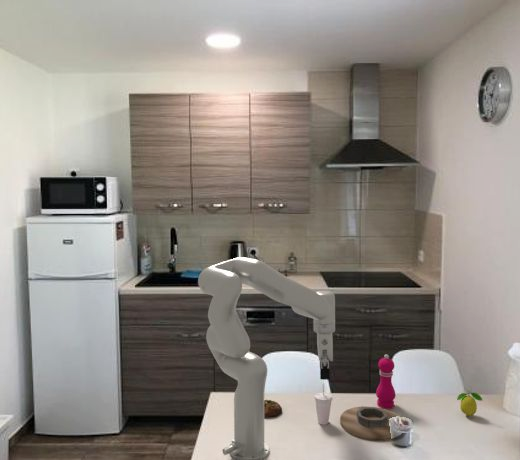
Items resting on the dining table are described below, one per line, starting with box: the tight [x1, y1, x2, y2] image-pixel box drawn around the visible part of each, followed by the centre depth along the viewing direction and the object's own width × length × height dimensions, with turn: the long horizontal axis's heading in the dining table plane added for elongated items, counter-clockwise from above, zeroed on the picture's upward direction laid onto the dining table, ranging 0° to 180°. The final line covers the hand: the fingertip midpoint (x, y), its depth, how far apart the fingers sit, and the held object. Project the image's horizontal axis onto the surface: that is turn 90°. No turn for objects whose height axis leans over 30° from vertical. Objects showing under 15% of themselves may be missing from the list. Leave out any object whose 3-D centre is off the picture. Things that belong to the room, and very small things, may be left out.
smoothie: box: [313, 383, 333, 426], centre depth 172 cm, size 6×6×14 cm
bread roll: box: [264, 399, 283, 418], centre depth 181 cm, size 11×11×5 cm
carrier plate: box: [339, 406, 399, 441], centre depth 171 cm, size 22×22×4 cm
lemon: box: [456, 391, 483, 417], centre depth 177 cm, size 7×6×10 cm
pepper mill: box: [375, 353, 396, 410], centre depth 185 cm, size 7×7×20 cm
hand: (324, 373), depth 172 cm, fingers open, 9 cm apart
